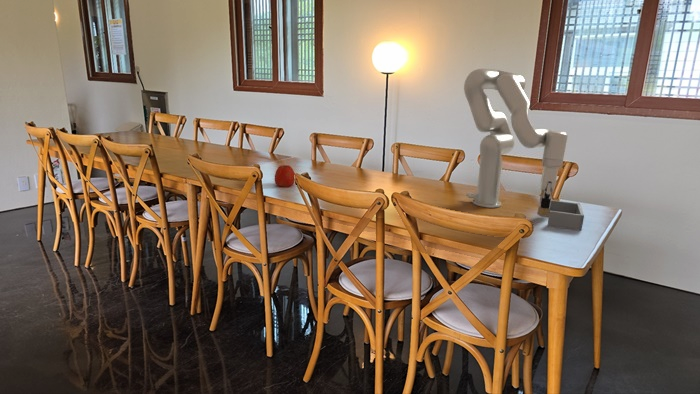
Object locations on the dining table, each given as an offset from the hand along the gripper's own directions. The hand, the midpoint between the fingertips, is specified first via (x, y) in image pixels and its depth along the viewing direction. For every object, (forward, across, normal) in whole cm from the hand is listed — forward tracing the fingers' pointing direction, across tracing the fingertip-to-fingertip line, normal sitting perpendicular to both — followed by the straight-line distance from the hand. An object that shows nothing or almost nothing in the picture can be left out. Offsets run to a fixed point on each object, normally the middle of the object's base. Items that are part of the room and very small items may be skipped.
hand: (544, 205), depth 181 cm
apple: (+8, +2, -119) cm, 119 cm away
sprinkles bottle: (+4, 0, 0) cm, 4 cm away
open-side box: (+5, 0, +8) cm, 9 cm away
